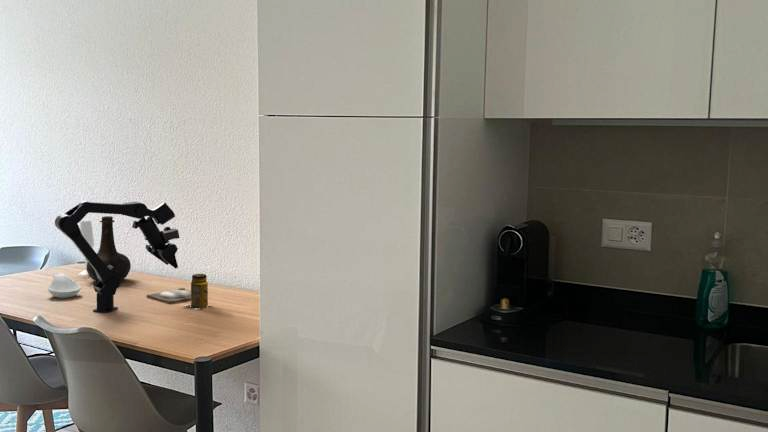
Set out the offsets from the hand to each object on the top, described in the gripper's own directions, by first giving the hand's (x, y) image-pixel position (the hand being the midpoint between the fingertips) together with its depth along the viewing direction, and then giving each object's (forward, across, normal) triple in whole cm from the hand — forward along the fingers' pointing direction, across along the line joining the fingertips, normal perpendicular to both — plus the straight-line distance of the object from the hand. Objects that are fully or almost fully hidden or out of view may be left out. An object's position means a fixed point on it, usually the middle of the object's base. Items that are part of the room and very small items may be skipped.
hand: (172, 266), depth 285 cm
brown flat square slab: (+14, +7, +4) cm, 16 cm away
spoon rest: (-3, +37, +34) cm, 51 cm away
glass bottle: (+8, +51, +15) cm, 54 cm away
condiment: (+15, -12, +3) cm, 19 cm away
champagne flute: (+6, +74, +18) cm, 76 cm away
